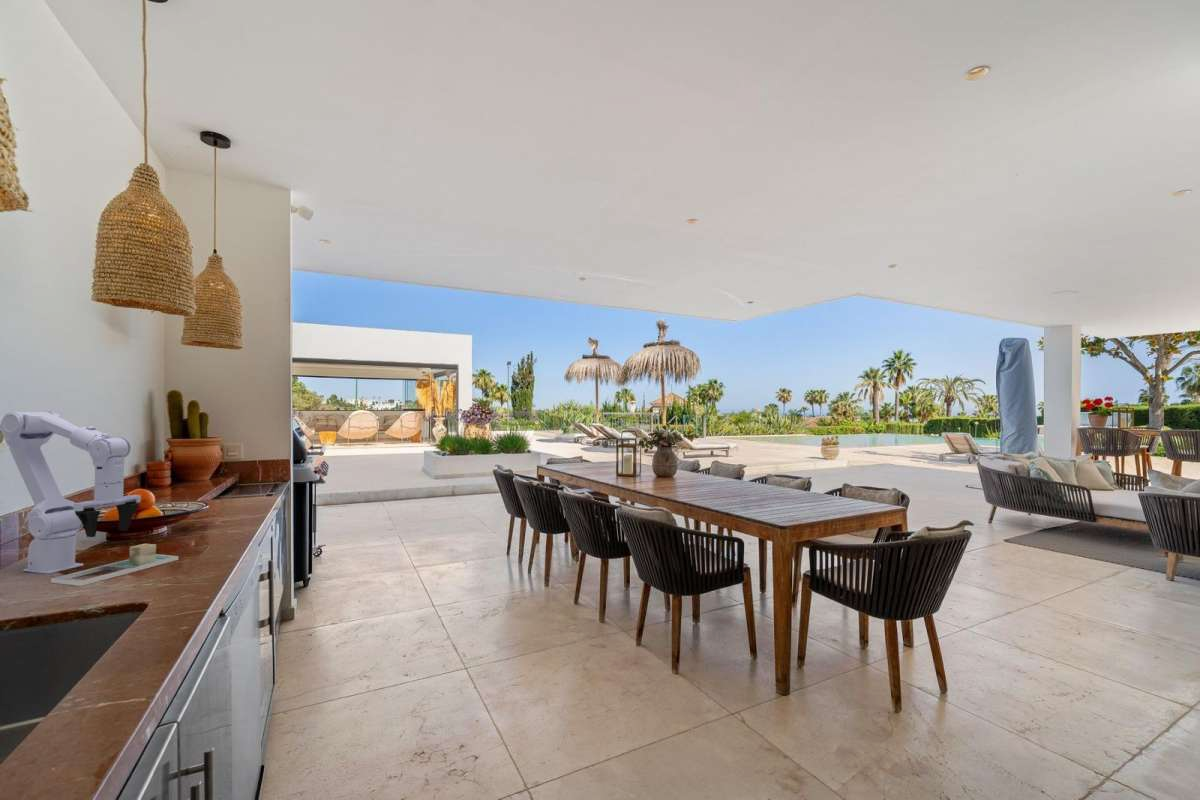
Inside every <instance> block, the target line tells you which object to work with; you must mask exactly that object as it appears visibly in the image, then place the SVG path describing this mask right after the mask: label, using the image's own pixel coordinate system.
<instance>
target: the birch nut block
mask: <svg viewBox="0 0 1200 800" xmlns="http://www.w3.org/2000/svg"><path fill="white" fill-rule="evenodd" d="M156 554H157V544H155V543H154V544H153V543H152V544H151V543H142V544H137V545H133V546H129V555H128V556H129V558H128V559H129V565H132V566H139V565H143V564H147V563H151V562H155V561H156Z"/></svg>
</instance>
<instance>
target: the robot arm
mask: <svg viewBox="0 0 1200 800" xmlns="http://www.w3.org/2000/svg"><path fill="white" fill-rule="evenodd" d="M96 429H97V428H96V427H95V426H93V425H91V426H90V425H89V426H81V427H79V426H77V425H76V424H74V423H72V422H70V421H68V420H66V419H64V418H62V416H61V414H59V413H56V412H53V411H14V410H13V411H9V412H7V413H5V414H4V416H3V417H2V419H1V422H0V432H1V434H2V436H3V439H4V440H5V442H6V444H7V446H8V448H9V451H10V453H11V456H12V457H13V460H14V463H15V465H16V467H17V468H18V471H19V474H20V476H21V478H22V480H23V482H24V484H25V486H26V488H27V490H28V493H29V495H30V497H31V500H32V501H33V505H34V507H33V508H31V510H30V511H29V512H28V513H27V514H26V515H25V516H26V518H27V523H28V525H27V527H28V531H29V533H30V535H31V536H33V539H32V540H31V542H30V543H29V545H28V548H27V549H28V550H27V551H28V554H27V568H24V569H23V572H29V573H36V574H37V573H40V574H53V573H58V572H61V571H65V570H71V569H73V568H78V567H82V566H84V563H81V562H76V548H77V547H76V546H77V545H76V543H77V534H79V533H80V530H81V529H82V528H84V533H85V535H86V536H85V537H86V538H95V537H96V535H97V524H98V520H99V516H100V513H101V511H100V510H96V509H99V508H106V507H111V506H112V507H113V506H116V509H117V513H118V530H119V531H123V532H126V531H128V529H129V527H130V524H131V522H132V519H133V517H134V515H135V513H136V512H137V511H138V509H139V508H140V503H141V497H142V496H141V494H131V495H124V481H125V479H124V477H125V458H127V456H129V454H130V453H131V448H132V446H131V444H130V441H129V440H128V439H126V437H123V436H117V437H113V436H111V435H110V433H104V432H102V431H100V430H96ZM54 434H56V435H58V436H60V437H64V438H67V439H69V443H70V444H71V445H72V446H73V447H76V448H79V449H80V450H83V451H85V452H88V453H89V456H90V457H91V459H92V465H93V467H94V493H93V494H94V495H93V499H91V500H86V501H85V500H84V501H81V502H75V501H72V500H69V499H67V498H65V497H63V495H62V492H61V491H60V489H59V486H58V484H57V482H56V480H55V478H54V476H53V472H51V469H50V466H49V465H48V463H47V461H46V458H45V456H44V454H43V452H42V449H41V447H42V446H43V445H45V444H47V443H48V442H49V441H50V440H51V438H52V437H53V436H54Z"/></svg>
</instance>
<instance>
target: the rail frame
mask: <svg viewBox="0 0 1200 800" xmlns="http://www.w3.org/2000/svg"><path fill="white" fill-rule="evenodd" d="M175 561H179V556H178V555H172V554H171V555H169V554H160V553H159V554H157V553H156V561H155V562H151V563H147V564H143V565H139V566H132V565H129V558H128V559H124V560H121V561H117V562H112V563H108V564H105V565H101V566H96V567H92V568H88V569H85V570H80V571H77V572H72V573H68V574H64V575H60V576H56V577H52V578H50V583H52V584H53V583H54V584H61V585H68V586H69V585H71V586H76V587H77V586H78V587H82V586H85V585H90V584H93V583H96V582H100V581H105V580H108V579H111V578H115V577H119V576H123V575H126V574H131V573H134V572H137V571H142V570H145V569H149V568H151V567H156V566H160V565H161V566H162V565H164V564H168V563H171V562H175ZM103 571H112V572H109V573H106V574H100V575H98V576H94V577H90V578H86V579H77V578H78V577H82V576H87V575H90V574H91V575H92V574H94V573H98V572H103Z"/></svg>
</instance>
